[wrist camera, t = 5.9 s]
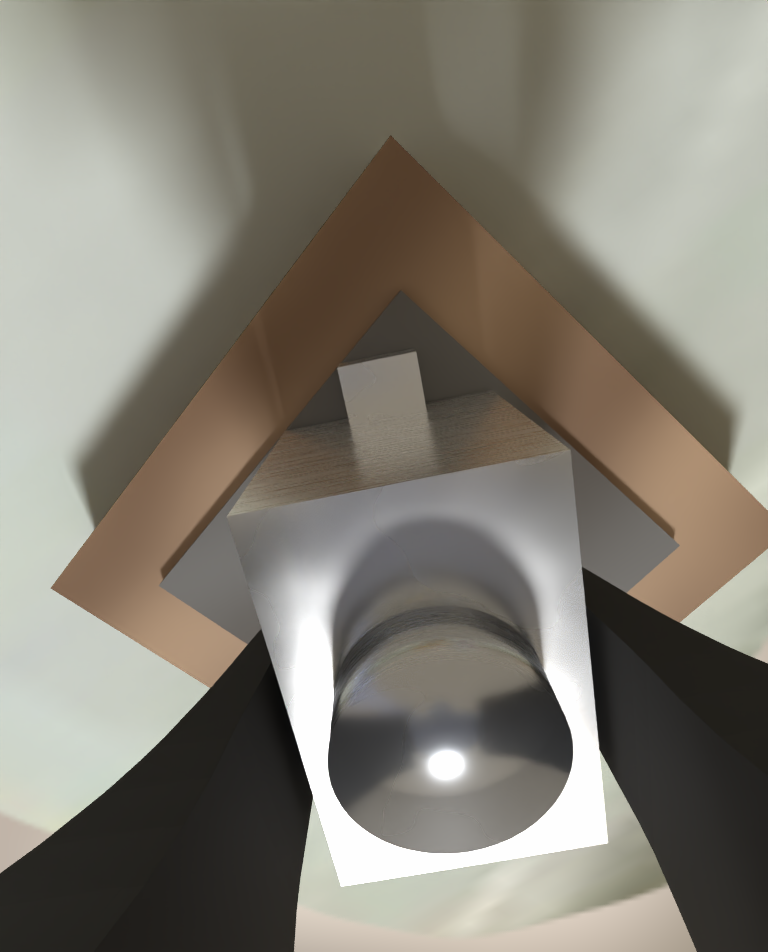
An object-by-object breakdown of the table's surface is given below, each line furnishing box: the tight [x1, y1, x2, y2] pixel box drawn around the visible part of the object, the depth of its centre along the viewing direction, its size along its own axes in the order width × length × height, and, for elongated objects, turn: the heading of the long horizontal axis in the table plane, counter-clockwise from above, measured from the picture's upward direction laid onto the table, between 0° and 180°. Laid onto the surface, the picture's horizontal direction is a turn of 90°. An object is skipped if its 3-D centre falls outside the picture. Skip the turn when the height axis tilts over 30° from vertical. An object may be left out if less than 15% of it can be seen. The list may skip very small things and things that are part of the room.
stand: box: [51, 136, 768, 688], centre depth 15 cm, size 13×13×3 cm
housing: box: [227, 348, 608, 886], centre depth 10 cm, size 5×9×6 cm, turn 11°
